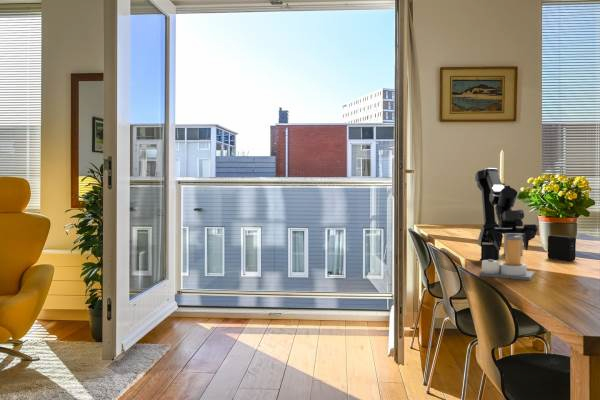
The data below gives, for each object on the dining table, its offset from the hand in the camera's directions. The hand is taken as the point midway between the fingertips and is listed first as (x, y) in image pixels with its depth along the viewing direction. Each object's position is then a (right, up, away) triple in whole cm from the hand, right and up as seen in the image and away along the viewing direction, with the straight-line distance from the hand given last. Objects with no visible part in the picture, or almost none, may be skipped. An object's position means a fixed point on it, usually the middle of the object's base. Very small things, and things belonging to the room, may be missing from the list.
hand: (513, 249), depth 179 cm
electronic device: (+35, -8, +34) cm, 50 cm away
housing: (-1, -9, +2) cm, 10 cm away
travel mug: (+21, -7, +50) cm, 55 cm away
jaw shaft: (0, -8, +1) cm, 8 cm away
